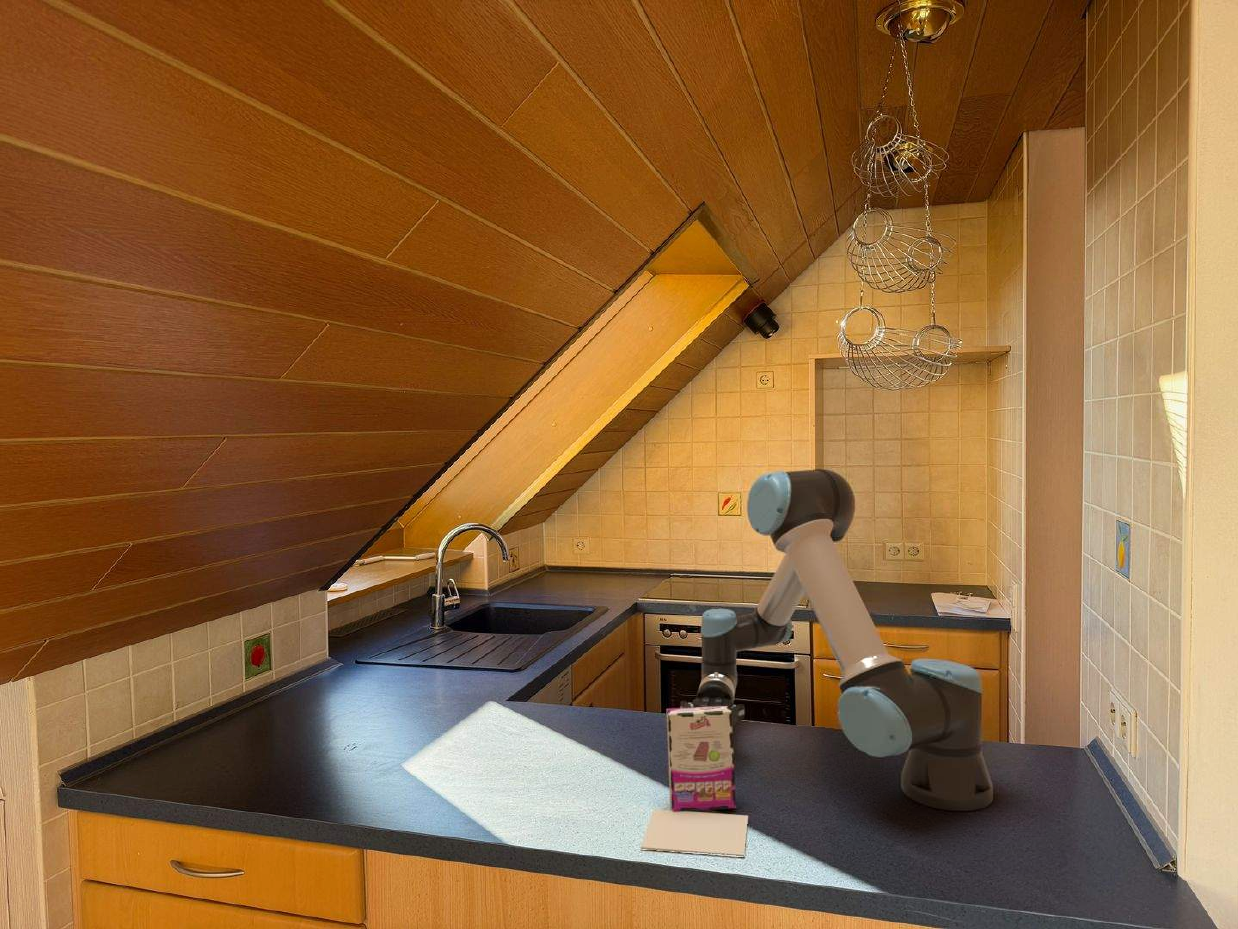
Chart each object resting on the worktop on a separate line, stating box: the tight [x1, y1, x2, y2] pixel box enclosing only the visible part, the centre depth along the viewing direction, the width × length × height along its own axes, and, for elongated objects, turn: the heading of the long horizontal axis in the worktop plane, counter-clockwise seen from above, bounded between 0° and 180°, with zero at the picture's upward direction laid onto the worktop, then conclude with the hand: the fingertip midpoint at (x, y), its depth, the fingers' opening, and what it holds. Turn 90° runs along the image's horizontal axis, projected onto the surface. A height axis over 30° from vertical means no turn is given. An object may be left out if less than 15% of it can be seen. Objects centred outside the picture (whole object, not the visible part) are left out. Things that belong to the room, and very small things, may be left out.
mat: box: [640, 808, 749, 856], centre depth 136 cm, size 13×16×1 cm
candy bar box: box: [666, 706, 737, 812], centre depth 146 cm, size 11×5×16 cm, turn 92°
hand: (704, 740), depth 151 cm, fingers closed
